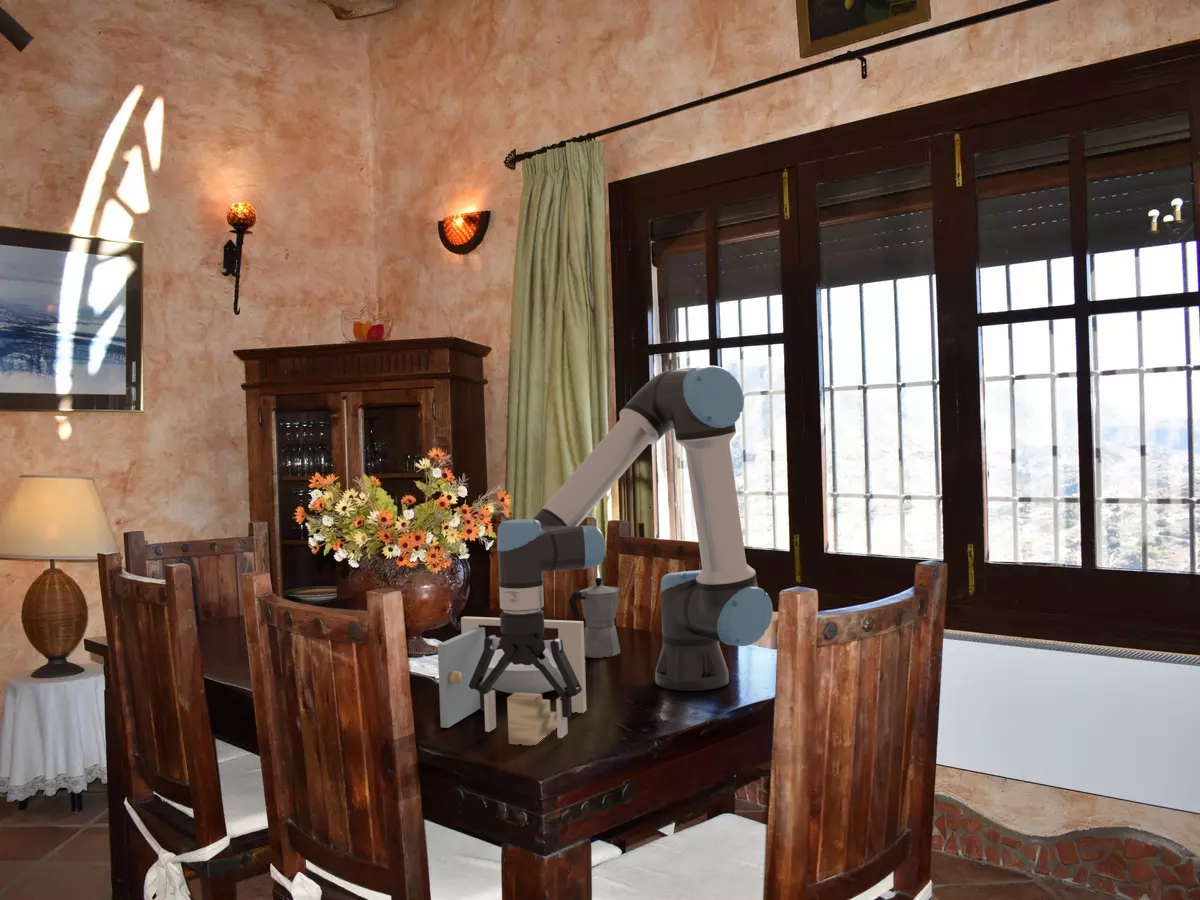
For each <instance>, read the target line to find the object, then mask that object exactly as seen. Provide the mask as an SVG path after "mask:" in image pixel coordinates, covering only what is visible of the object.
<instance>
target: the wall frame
mask: <svg viewBox="0 0 1200 900" xmlns="http://www.w3.org/2000/svg"><path fill="white" fill-rule="evenodd" d="M584 622H585V621H583V620H582V621H581V620H580V621H575V620H561V619H560V620H558V619H557V620H556V619H544V629H547V628H548V629H557V633H558V635H557V638H561V639H562V643H563V650H564V652H565V655H566V657H567V659H568V661H569V663H570V665H571V667H572V669H573V671H574V673H575V675H576V677H577V679H578V681H579V683H580V685H581V687H582V691H581V692H580V693H578V694H577V695H576V696H572V698H571V702H572V713H575V712H577V714H578V713H579V714H585V713H586V712H587V711H586V710H587V686H586V685H587V684H586V683H587V682H586V656H585V650H584V630H585V627H584V626H585V624H584ZM460 624H461V625H460V626H461V627H460V628H461V634H463V633H465V632H468V631H470V630H472V629H474V628H477V627H480V626H497V627H501V624H500V617H487V616H486V617H485V616H462V617H460ZM560 676H561V677H562V675H561V673H560ZM562 679H563V677H562ZM585 711H586V712H585ZM584 712H585V713H584Z"/></svg>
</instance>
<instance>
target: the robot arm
mask: <svg viewBox="0 0 1200 900" xmlns="http://www.w3.org/2000/svg"><path fill="white" fill-rule="evenodd" d="M744 404H745V397H744V393H743V388H742V385H741V384H740V381H738V379H737V378H736V377H735V375H734V374H733V373H731V372H730V371H729V370H728V369H726V368H725V367H724V368H723V367H720V366H717V365H707V364H706V365H699V366H694V367H693V366H692V367H686V368H685V367H684V368H677V369H669V370H664V371H662V372H661V373H659V374H657V375H655V376H654V377H653V378H651V379H650V380H649V381H647V382H646V383H645V384H644V386H642V387H641V388H640V389H639V390H638V391H637V392H636V393H635V394H634V395H633V396H632V397H631V399H629V401H628V402H627V403H626V404H625V405H624V407H622V409H621V410H620V411H619V413H618V414H619V415H618V417H619V420H618V421H617V422H616V423H615V425H613V427H612V428H611V429H610V430H609V431H608V433H607V434H606V435H605V436H604V437H603V438H602V440H601V441H599V442H598V444H597V445H596V447H595V446H594V448H593V450H592V451H591V452H590V453H589V454H588V455H587V457H586V458H585V459H584V460H583V461H582V463H580V464H579V466H577V468H576V469H575V470H574V472H572V474H571V475H570V476H569V477H568V479H566V481H565V482H564V483H563V484H562V485H561V487H559V489H558V490H557V491H556V492H555V493H554V494H553V495H552V497H551V498H550V499H549V500H548V501H547V502H546V504H545V505H544V506H543V507H542V508H541V509H540V510H539V511H538V512H537V513H536V515H534V517H533V518H526V519H525V518H523V519H508V520H504V521H502V522H500V523H499V525H498V527H497V538H496V539H497V540H496V541H497V543H496V544H497V546H496V550H497V561H498V584H499V585H498V586H499V587H498V589H499V608H500V609H501V610H502V611H501V613H500V614H499V618H500V624H501V626H500V632H501V637H497V636H496V634H491V635H489V636H487V637H485V640H484V650H483V653H482V655H481V658H480V660H479V662H478V665H477V667H476V669H475V672H474V674H473V676H472V679H471V681H470V684H469V687H470V688H471V689H475V690H477V691H479V693H480V711H482V712H484V731H485V732H488V733H489V732H492V731H493V730H495V729H496V728H497V712H496V711H497V710H496V708H497V707H496V690H491V689H492V688H493V687H492V686H493V684H494V683H495V682H496V681H497V679H498V678H499V677H500V675H501V674H502V673H503V671H504V670H505V669H506V668H507V666H508V665H509V664H510V663H511V662H512V663H513V664H514V665H518V664H524V665H531V664H533V665H534V666H535V667H536V668H537V669H539V670H540V671H541V673H542V674H543V675H544V676H545V678H546V679H547V680H548V682H549V683H550V684H551V685H552V687H553V688H554V689H555V690H554V691H555V692H556V693H557V694H558V695H559V697H558V698H556V700H555V703H556V712H557V729H556V730H557V731H556V732H557V733H556V734H557V739H563V738H564V737H565V736H566V735H567V734H569V733H568V729H569V728H568V718H569V717H571V716H572V713H573V712H572V702H571V698H572V696H576V695H577V694H578V693H580V692H581V691H582V687H581V685H580V683H579V681H578V679H577V677H576V675H575V673H574V671H573V669H572V667H571V665H570V663H569V661H568V659H567V657H566V655H565V652H564V650H563V643H562V639H561V638H558V637H556V638H555V639H546V638H545V628H544V620H545V612H544V611H543V610H542V608H543V607H544V606H545V605H544V604H545V603H544V601H545V600H544V588H543V587H544V586H543V585H544V582H543V581H544V580H543V578H544V574H545V573H551V572H562V571H573V570H581V569H582V570H586V569H588V568H595V567H598V566H600V565H601V564H602V562H603V561H604V558H605V555H606V540H605V537H604V535H603V533H602V531H601V530H600V529H599V527H597V526H594V525H583V524H581V523H582V522H583V521H584V520H585V519H586V518H587V516H589V514H590V513H591V512H592V511H593V509H594V508H595V507H596V506H597V505H598V503H599V502H600V501H601V500H602V499H603V498H604V497H605V495H606V494H607V493H608V492H609V491H610V490H611V488H612V487H613V486H614V485H615V484H616V483H617V482H618V480H619V479H621V476H623V475H624V473H626V471H627V470H628V469H629V468H630V466H631V465H632V464H633V463H634V461H636V459H637V458H638V457H639V456H641V454H642V452H643V451H644V450H645V449H646V448H647V447H648V445H655V444H657V443H658V442H659V440H660V439H661V438H662V437H663V436H664V435H665V434H667V433H669V432H670V431H672V430H674V436H675V441H676V443H677V444H679V445H680V446H682V447H683V448H684V450H685V456H686V457H685V458H686V465H687V469H688V470H687V472H688V476H689V485H690V492H691V500H692V505H693V513H694V520H695V526H696V534H697V542H698V547H699V556H700V562H701V569H698V570H688V571H679V572H671V573H670V572H669V573H667V574H664V575H663V576H662V578H661V582H660V591H659V593H660V605H661V624H662V625H661V627H662V628H661V630H662V631H661V633H662V648H661V651H660V654H659V658H658V662H657V665H656V668H655V684H656V685H657V686H659V687H661V688H662V689H663V688H664V689H667V690H673V691H674V690H675V691H683V692H691V691H692V692H694V691H695V692H698V691H701V692H702V691H709V690H715V689H718V688H722V687H724V686H726V685H728V684H729V682H730V681H729V670H728V667H727V663H726V660H725V658H724V654H723V652H722V649H721V646H720V642H721V643H723V644H726V645H728V646H737V647H746V646H747V647H748V646H751V645H753V644H755V643H756V642H758V641H759V640H760V639H762V637H764V636H765V634H766V631H767V630H768V629H769V627H770V625H771V622H772V620H773V609H774V608H773V603H772V599H771V598H770V596H769V594H768V593H767V592H765V590H764V589H763V588H761V587H759V586H758V582H757V573H756V570H755V569H754V567H753V568H752V566H750V565H749V564H748V563H747V559H746V553H745V552H746V551H745V544H744V543H745V542H744V538H743V529H742V523H741V522H742V521H741V516H740V509H739V501H738V493H737V487H736V479H735V473H734V466H733V458H732V450H731V444H730V443H731V441H732V439H733V437H735V436H736V434H737V429H736V422H737V421H738V420H740V419H739V418H740V417H741V413H742V412H743V410H744ZM499 647H500V648H501V649H502V650H503V651H504V655H503V656H502V657H501V659H500V660H499V661H498V664H497V665H496V666H495V667H494V669H493V670H492V671H491V673H490V674H489V675H488V677H487V678H486V679H485V681H484V682H482V681H483V679H484V676H485V674H486V672H487V669H488V667H489V664H490V662H491V660H492V657H493V655H494V653H495V650H498V648H499ZM545 648H548V650H549V652H550V653H552V656H553V659H554V661H555V663H556V665H557V667H558V669H559V671H560V673H561V675H562V677H563V679H562V677H561V676H560V675H559V673H558V672H557V671H556V670H555V668H554V667H553V666H552V665H551V663H550V662H549V659H548V657H547V656H546V655H545V653H544V650H545ZM539 659H540V660H539Z"/></svg>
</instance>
